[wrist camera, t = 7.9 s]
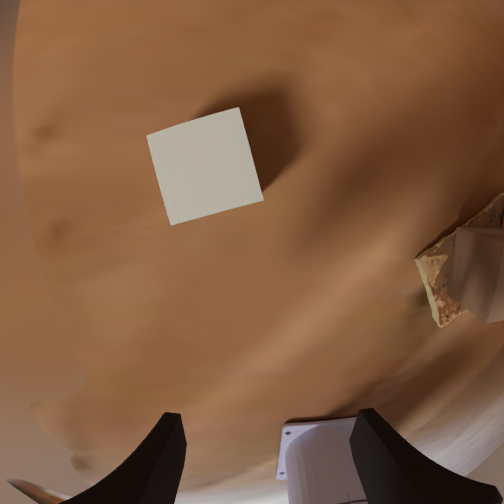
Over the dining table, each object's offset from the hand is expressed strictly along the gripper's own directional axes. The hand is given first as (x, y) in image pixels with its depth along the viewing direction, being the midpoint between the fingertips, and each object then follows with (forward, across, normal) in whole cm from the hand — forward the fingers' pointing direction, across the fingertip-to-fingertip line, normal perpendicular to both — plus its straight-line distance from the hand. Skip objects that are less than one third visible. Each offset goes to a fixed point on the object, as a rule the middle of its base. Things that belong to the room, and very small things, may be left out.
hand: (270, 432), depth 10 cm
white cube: (+10, +3, -10) cm, 14 cm away
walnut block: (+9, -16, -5) cm, 19 cm away
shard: (+11, -15, -5) cm, 19 cm away
